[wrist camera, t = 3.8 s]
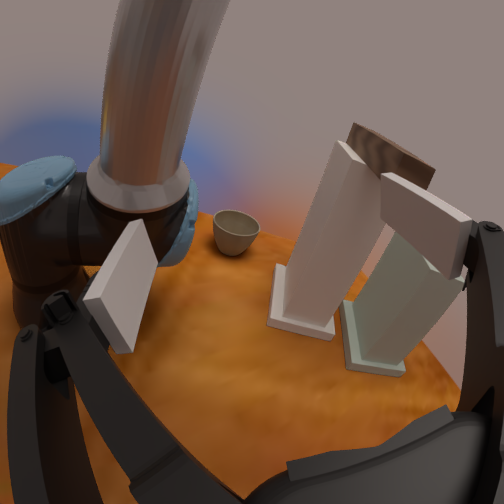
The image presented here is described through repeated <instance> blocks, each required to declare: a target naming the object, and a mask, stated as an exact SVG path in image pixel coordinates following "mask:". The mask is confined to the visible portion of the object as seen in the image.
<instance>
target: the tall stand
mask: <svg viewBox="0 0 504 504" xmlns="http://www.w3.org/2000/svg"><path fill="white" fill-rule="evenodd" d="M380 209H381V181H380V179H379V178H378V177H377V176H376V175H375V174H374V172H373V171H372V170H371V169H370V168H369V167H368V166H367V165H366V164H365V162H364V161H363V160H362V159H361V158H360V157H359V156H358V155H357V154H356V153H355V152H354V151H353V150H352V148H351V147H350V146H349V145H348V144H346V143H344V142H341V141H338V140H336V142H335V145H334V147H333V150H332V153H331V156H330V158H329V161H328V163H327V166H326V169H325V171H324V174H323V177H322V179H321V182H320V184H319V187H318V190H317V192H316V195H315V197H314V200H313V202H312V205H311V208H310V210H309V212H308V215H307V217H306V220H305V223H304V225H303V227H302V230H301V232H300V235H299V237H298V240H297V242H296V245H295V247H294V249H293V252H292V254H291V257H290V259H289V261H288V264H287V266H284V265H280V264H277V263H276V266H275V268H274V272H273V280H272V288H271V296H270V304H269V312H268V319H267V326H270V327H274V328H278V329H282V330H286V331H289V332H293V333H297V334H301V335H306V336H310V337H314V338H318V339H322V340H327V341H331V340H332V338H333V337H334V336H335V326H334V317H333V315H334V313H335V311H336V310H337V308H338V307H339V305H340V303H341V302H342V300H343V299H344V297H345V295H346V294H347V292H348V290H349V289H350V287H351V285H352V284H353V282H354V280H355V279H356V277H357V275H358V274H359V272H360V270H361V268H362V267H363V265H364V263H365V261H366V260H367V258H368V256H369V254H370V252H371V250H372V249H373V247H374V245H375V243H376V241H377V239H378V237H379V236H380V234H381V232H382V230H383V228H384V226H385V224H386V223H385V222H384V221H383V220H382V219H381V218H380Z"/></svg>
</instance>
